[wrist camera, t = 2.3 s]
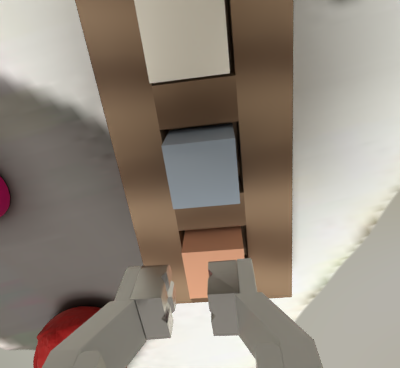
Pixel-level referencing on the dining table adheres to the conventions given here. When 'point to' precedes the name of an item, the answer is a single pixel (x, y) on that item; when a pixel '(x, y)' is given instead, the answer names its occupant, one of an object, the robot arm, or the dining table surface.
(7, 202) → the pepper mill
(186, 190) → the slate button
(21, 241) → the dining table surface
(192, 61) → the cream button
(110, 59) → the button panel
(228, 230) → the terracotta button
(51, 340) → the red tomato
